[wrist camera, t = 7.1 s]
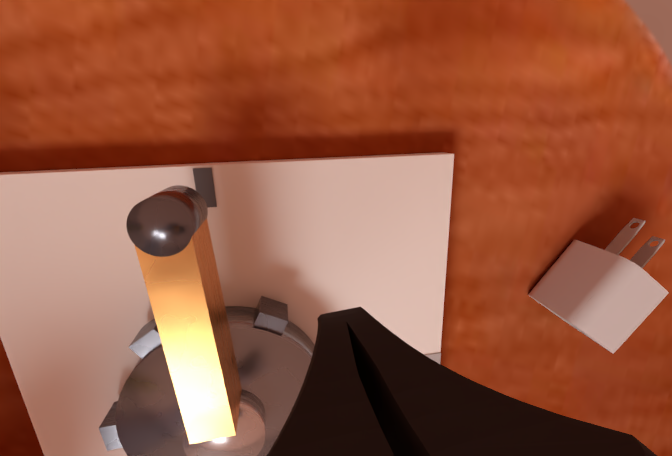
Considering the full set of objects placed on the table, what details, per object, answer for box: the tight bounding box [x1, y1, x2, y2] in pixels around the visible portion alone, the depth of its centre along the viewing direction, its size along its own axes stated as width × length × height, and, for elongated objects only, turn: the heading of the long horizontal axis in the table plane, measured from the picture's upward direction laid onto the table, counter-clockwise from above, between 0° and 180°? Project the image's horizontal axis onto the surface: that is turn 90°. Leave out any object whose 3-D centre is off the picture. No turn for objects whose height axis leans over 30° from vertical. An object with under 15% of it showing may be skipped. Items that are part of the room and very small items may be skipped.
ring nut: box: [99, 185, 315, 456], centre depth 15 cm, size 17×12×4 cm
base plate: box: [0, 152, 454, 456], centre depth 19 cm, size 22×22×1 cm
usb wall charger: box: [528, 218, 669, 354], centre depth 20 cm, size 4×7×4 cm, turn 144°
